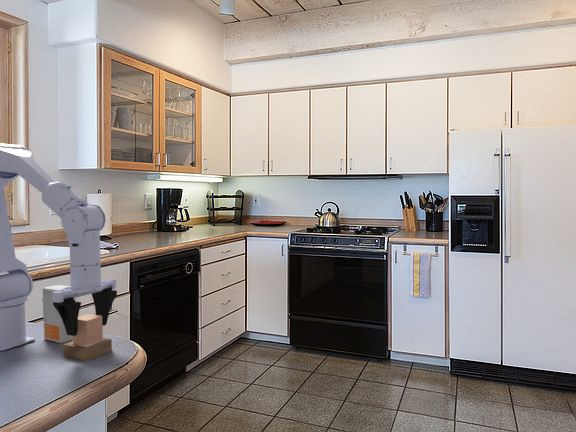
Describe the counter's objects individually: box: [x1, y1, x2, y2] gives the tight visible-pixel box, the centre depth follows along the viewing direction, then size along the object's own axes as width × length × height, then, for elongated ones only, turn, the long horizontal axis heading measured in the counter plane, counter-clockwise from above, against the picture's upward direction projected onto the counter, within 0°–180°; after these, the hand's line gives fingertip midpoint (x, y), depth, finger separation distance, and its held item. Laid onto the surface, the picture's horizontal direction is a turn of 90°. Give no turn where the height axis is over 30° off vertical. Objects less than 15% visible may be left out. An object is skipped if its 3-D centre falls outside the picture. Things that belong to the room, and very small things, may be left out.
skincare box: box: [42, 284, 76, 344], centre depth 104 cm, size 6×4×12 cm
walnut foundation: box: [62, 337, 113, 362], centre depth 95 cm, size 6×6×3 cm
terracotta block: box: [72, 313, 104, 345], centre depth 95 cm, size 4×4×5 cm
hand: (87, 329), depth 95 cm, fingers open, 7 cm apart
